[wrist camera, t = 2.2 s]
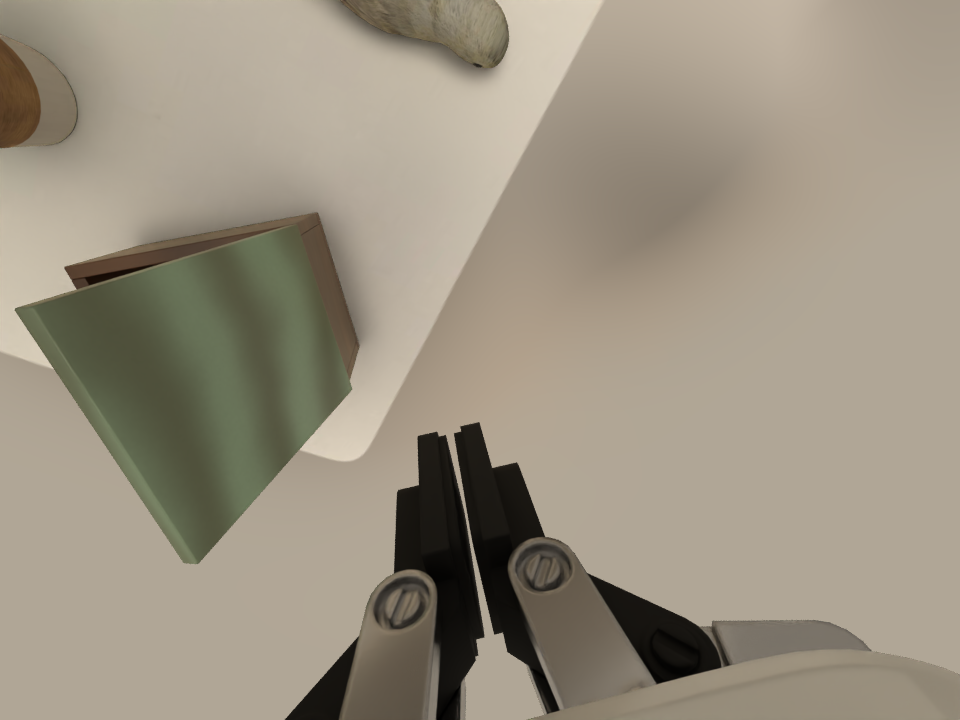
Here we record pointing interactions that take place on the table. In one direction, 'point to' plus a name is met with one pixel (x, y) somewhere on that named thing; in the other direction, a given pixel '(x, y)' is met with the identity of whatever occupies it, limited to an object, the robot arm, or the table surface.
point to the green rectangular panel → (199, 375)
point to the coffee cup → (32, 98)
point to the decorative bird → (443, 24)
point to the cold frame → (186, 246)
